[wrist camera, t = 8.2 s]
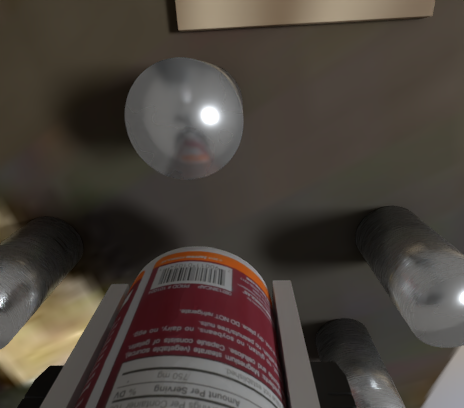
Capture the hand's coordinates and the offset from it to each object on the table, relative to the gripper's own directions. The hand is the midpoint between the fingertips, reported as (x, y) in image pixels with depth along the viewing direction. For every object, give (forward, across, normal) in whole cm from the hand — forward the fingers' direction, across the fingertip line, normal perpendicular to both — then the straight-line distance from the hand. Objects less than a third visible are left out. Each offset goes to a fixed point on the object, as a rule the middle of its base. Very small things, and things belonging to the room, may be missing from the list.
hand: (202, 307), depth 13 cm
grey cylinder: (+7, +9, -10) cm, 15 cm away
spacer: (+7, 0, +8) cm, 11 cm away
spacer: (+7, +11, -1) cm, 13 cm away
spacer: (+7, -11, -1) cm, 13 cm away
